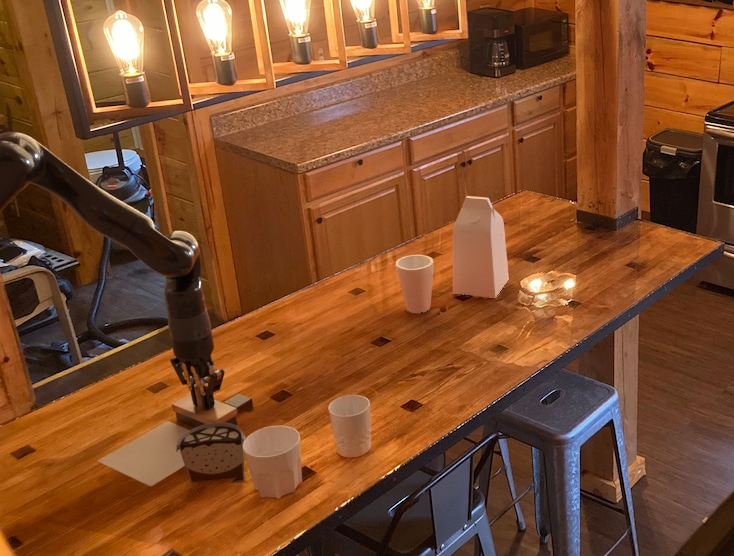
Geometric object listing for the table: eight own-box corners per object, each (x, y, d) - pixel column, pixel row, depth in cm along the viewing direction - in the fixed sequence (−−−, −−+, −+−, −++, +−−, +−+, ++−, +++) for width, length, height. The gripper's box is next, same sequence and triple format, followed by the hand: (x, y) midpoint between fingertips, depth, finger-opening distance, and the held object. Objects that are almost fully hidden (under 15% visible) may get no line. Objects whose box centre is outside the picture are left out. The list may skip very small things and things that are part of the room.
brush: (174, 420, 196) (167, 383, 192) (197, 407, 201) (190, 370, 197) (217, 438, 191) (210, 399, 187) (239, 424, 195) (233, 386, 191)
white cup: (332, 440, 192) (327, 398, 188) (372, 434, 194) (367, 391, 190) (335, 463, 185) (329, 419, 181) (376, 455, 187) (371, 412, 183)
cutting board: (97, 465, 184) (96, 460, 183) (168, 424, 196) (167, 420, 196) (151, 491, 177) (150, 486, 176) (221, 447, 189) (220, 443, 189)
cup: (264, 467, 183) (257, 424, 179) (314, 470, 182) (308, 427, 178) (241, 500, 174) (233, 455, 170) (293, 503, 173) (286, 458, 169)
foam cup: (393, 307, 247) (388, 261, 241) (423, 296, 252) (420, 251, 247) (412, 319, 240) (408, 273, 235) (443, 308, 246) (440, 262, 241)
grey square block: (225, 412, 201) (223, 402, 200) (240, 403, 204) (238, 393, 203) (238, 417, 199) (236, 407, 198) (253, 408, 202) (251, 398, 201)
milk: (509, 281, 261) (505, 192, 251) (495, 299, 251) (491, 207, 241) (467, 277, 264) (463, 188, 253) (452, 294, 254) (447, 203, 243)
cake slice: (257, 461, 185) (250, 417, 181) (252, 480, 180) (244, 436, 176) (191, 467, 183) (182, 423, 179) (183, 487, 178) (174, 442, 174)
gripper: (150, 330, 187) (165, 405, 194) (199, 347, 181) (212, 424, 188) (182, 315, 193) (196, 388, 200) (230, 331, 187) (242, 406, 194)
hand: (204, 405), depth 194 cm, fingers closed on brush, 2 cm apart
